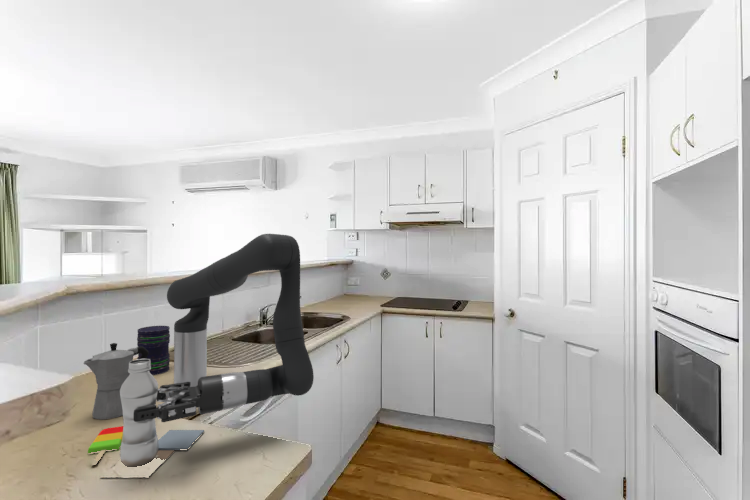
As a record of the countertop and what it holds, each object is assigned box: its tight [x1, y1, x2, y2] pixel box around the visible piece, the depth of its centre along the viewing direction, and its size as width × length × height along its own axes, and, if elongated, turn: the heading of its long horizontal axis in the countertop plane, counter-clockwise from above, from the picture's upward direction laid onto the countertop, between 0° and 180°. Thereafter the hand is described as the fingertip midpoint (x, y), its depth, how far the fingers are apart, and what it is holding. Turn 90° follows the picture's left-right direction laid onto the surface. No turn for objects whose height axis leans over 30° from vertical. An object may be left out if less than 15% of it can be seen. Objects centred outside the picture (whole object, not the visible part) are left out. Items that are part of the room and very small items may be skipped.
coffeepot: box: [83, 342, 148, 421], centre depth 99 cm, size 15×9×18 cm, turn 150°
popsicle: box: [87, 425, 124, 462], centre depth 80 cm, size 6×15×2 cm, turn 21°
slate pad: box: [158, 429, 205, 450], centre depth 83 cm, size 8×8×1 cm
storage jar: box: [136, 325, 171, 376], centre depth 131 cm, size 10×10×15 cm
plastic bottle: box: [119, 358, 159, 467], centre depth 74 cm, size 6×7×20 cm
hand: (134, 407), depth 74 cm, fingers open, 8 cm apart
